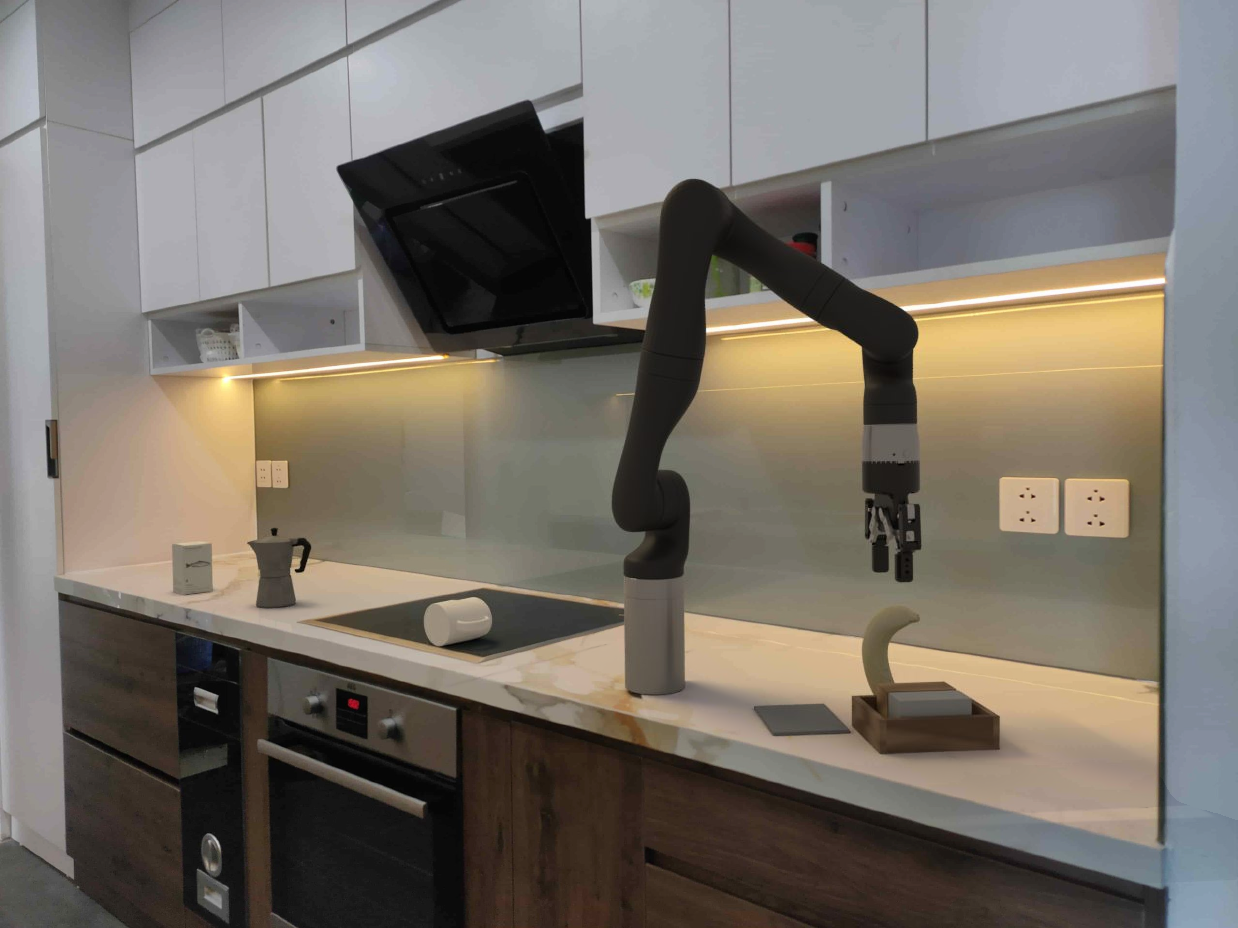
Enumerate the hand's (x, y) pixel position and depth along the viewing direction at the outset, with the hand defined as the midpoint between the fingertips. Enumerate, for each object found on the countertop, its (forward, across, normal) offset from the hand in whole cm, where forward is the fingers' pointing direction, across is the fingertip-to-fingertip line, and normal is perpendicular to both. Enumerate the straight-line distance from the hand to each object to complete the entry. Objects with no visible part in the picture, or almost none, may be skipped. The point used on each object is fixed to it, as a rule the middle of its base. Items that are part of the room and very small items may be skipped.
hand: (891, 576), depth 118 cm
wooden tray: (+19, +10, 0) cm, 21 cm away
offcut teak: (+19, +8, 0) cm, 20 cm away
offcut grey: (+19, +12, 0) cm, 22 cm away
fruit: (+19, 0, 0) cm, 19 cm away
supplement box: (+17, -112, -140) cm, 180 cm away
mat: (+19, +2, -14) cm, 23 cm away
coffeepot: (+18, -92, -112) cm, 146 cm away
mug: (+18, -49, -64) cm, 83 cm away
